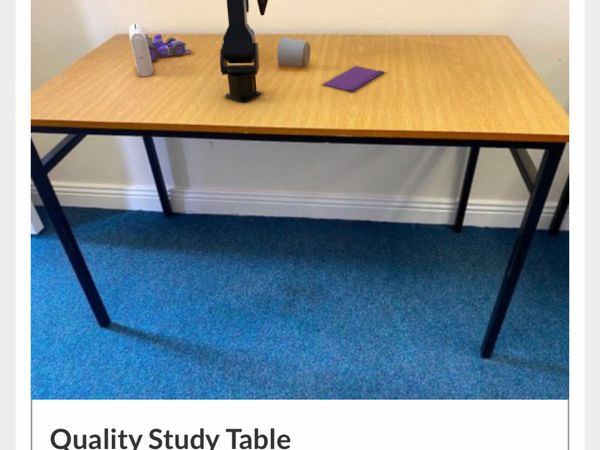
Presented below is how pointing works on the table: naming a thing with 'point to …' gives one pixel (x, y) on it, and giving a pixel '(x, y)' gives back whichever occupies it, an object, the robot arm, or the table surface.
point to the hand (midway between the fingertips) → (254, 13)
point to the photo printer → (140, 50)
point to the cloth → (353, 79)
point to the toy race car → (165, 47)
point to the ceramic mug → (293, 53)
